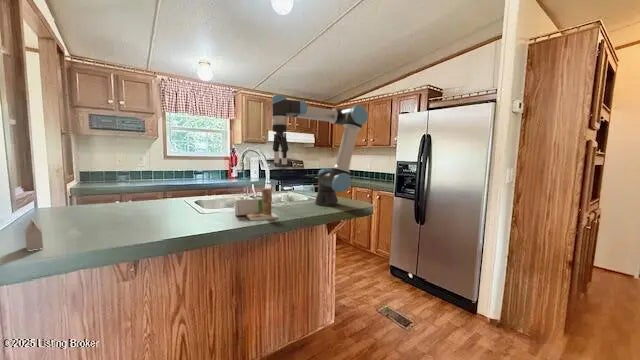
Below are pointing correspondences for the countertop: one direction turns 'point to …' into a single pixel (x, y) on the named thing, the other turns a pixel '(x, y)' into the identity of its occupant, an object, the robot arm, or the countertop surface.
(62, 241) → the countertop surface
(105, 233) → the countertop surface
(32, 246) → the tea bag
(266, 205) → the wooden bracket
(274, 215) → the mat
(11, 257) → the countertop surface
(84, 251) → the countertop surface
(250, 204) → the skincare box
